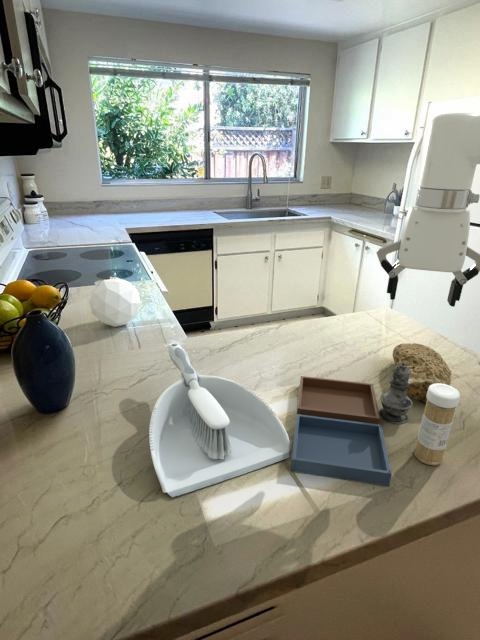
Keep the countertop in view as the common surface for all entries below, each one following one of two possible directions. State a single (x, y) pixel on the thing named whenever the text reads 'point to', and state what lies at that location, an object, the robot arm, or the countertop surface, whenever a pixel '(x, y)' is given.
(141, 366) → the countertop surface
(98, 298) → the geodesic sphere
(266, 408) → the dustpan and brush
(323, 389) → the tray walnut
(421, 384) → the sponge
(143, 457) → the countertop surface
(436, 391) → the sprinkles bottle
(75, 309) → the countertop surface
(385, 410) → the grey stone figurine
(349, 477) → the tray blue
